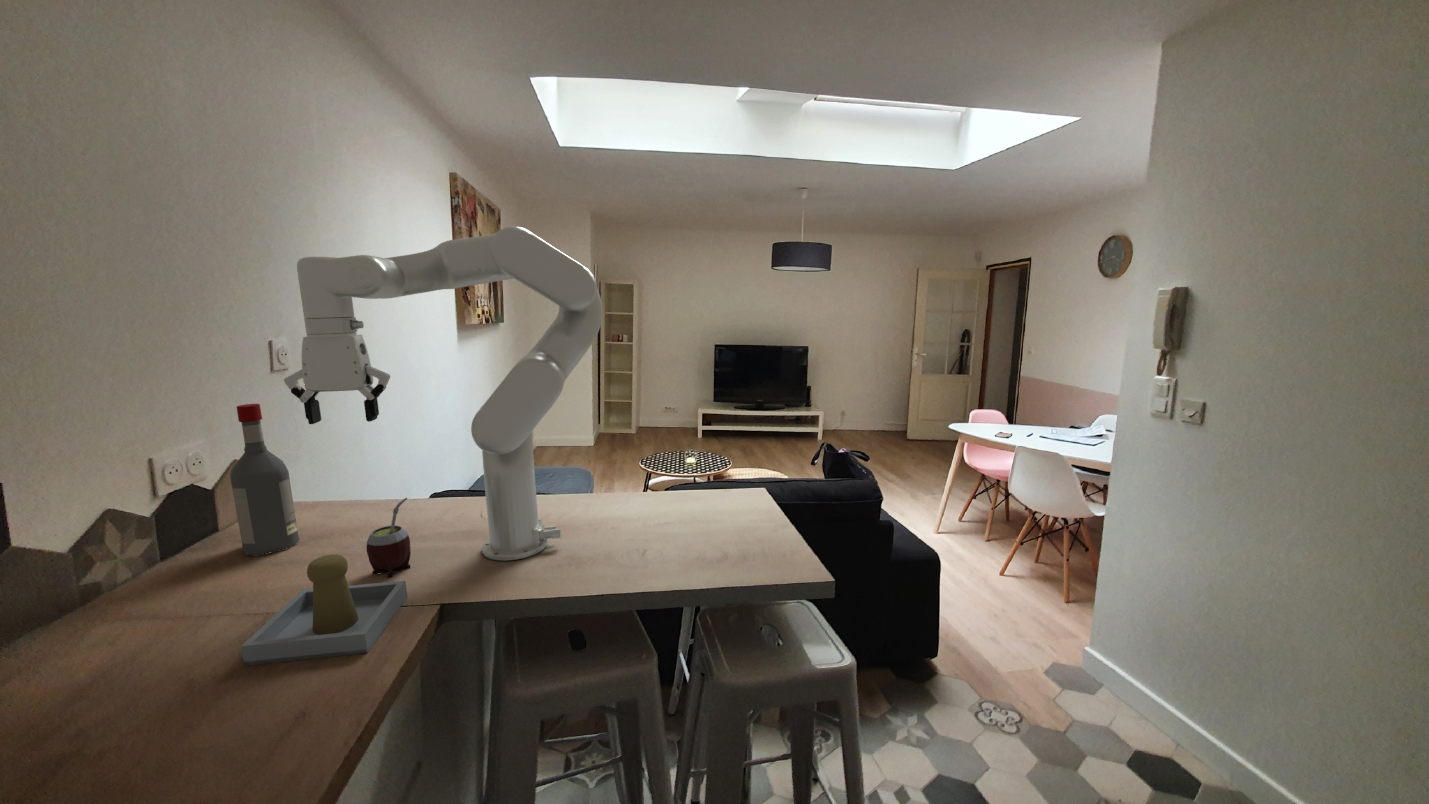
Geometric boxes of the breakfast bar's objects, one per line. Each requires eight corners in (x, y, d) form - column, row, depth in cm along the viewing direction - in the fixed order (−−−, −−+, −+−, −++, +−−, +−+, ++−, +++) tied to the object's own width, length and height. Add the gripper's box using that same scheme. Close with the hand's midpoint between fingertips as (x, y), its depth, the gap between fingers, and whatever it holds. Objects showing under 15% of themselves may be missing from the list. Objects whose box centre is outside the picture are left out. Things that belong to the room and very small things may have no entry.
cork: (335, 637, 86) (325, 568, 84) (302, 632, 87) (291, 565, 85) (367, 615, 92) (358, 551, 90) (336, 611, 93) (326, 548, 91)
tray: (407, 597, 99) (405, 580, 98) (367, 653, 83) (364, 634, 83) (305, 606, 96) (302, 589, 96) (244, 665, 81) (240, 646, 80)
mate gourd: (373, 566, 110) (363, 491, 108) (419, 558, 113) (410, 485, 111) (367, 583, 103) (356, 504, 101) (416, 575, 106) (407, 497, 104)
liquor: (244, 560, 114) (218, 411, 108) (242, 545, 121) (217, 405, 115) (300, 546, 120) (278, 405, 114) (295, 533, 127) (274, 399, 121)
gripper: (391, 325, 108) (401, 415, 111) (289, 328, 105) (303, 419, 108) (374, 327, 101) (386, 423, 104) (265, 330, 98) (280, 428, 101)
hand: (343, 421), depth 106 cm, fingers open, 9 cm apart
